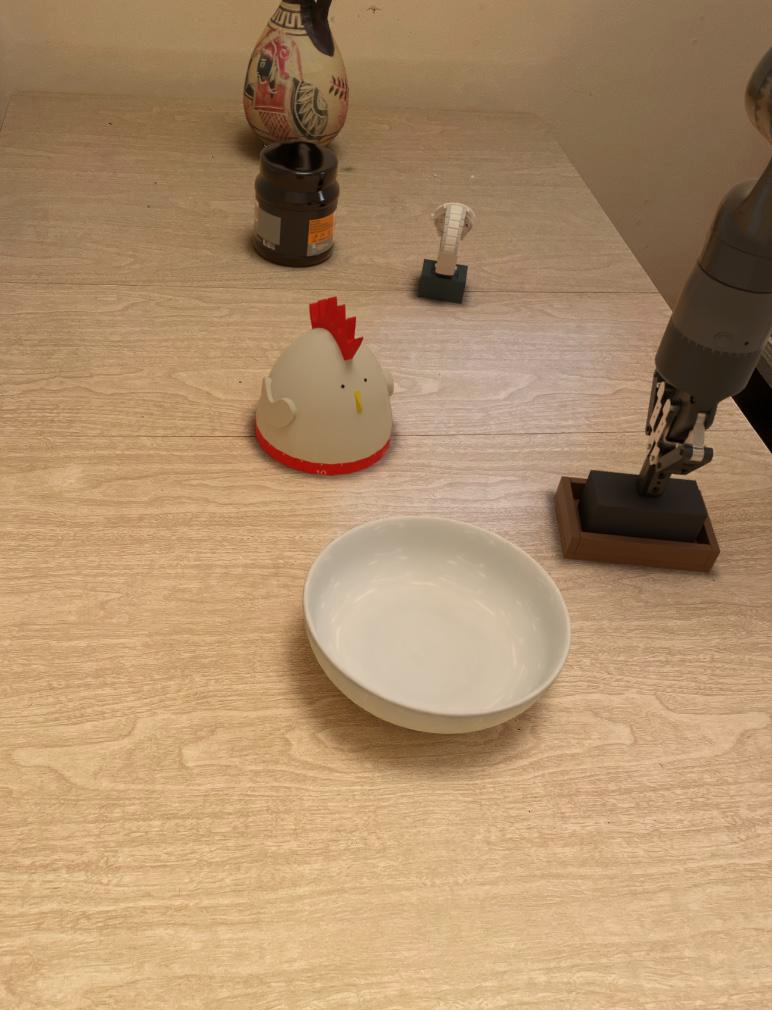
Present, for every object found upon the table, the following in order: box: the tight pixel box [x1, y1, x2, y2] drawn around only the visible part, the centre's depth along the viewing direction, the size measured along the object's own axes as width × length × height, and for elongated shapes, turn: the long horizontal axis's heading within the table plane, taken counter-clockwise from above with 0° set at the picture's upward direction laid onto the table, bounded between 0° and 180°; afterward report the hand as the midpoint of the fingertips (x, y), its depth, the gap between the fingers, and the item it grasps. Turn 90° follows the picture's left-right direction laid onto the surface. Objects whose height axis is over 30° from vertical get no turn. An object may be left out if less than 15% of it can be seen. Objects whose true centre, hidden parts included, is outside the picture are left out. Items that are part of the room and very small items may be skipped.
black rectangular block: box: [577, 469, 709, 543], centre depth 90 cm, size 10×5×4 cm, turn 87°
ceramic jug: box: [242, 0, 350, 149], centre depth 134 cm, size 17×15×30 cm
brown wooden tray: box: [553, 475, 721, 574], centre depth 91 cm, size 14×9×3 cm, turn 87°
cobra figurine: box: [416, 202, 476, 305], centre depth 116 cm, size 6×8×11 cm
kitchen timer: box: [254, 295, 395, 476], centre depth 93 cm, size 14×14×15 cm
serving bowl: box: [301, 514, 573, 735], centre depth 77 cm, size 21×21×7 cm
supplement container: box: [252, 141, 341, 268], centre depth 120 cm, size 10×10×12 cm
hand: (647, 491), depth 88 cm, fingers closed
